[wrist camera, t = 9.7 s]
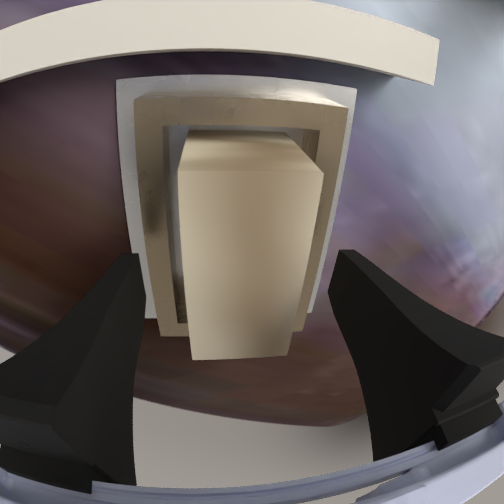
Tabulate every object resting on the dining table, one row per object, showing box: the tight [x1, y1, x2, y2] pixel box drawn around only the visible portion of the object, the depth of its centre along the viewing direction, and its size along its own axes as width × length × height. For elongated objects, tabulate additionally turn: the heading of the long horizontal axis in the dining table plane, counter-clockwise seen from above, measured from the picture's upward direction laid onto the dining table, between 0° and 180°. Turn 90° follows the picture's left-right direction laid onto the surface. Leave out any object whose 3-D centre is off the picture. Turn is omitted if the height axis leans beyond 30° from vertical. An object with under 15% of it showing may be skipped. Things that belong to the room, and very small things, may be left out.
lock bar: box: [178, 130, 324, 360], centre depth 13 cm, size 4×8×5 cm, turn 176°
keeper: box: [116, 74, 357, 336], centre depth 14 cm, size 10×13×2 cm
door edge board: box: [0, 0, 439, 86], centre depth 8 cm, size 20×2×3 cm, turn 86°
